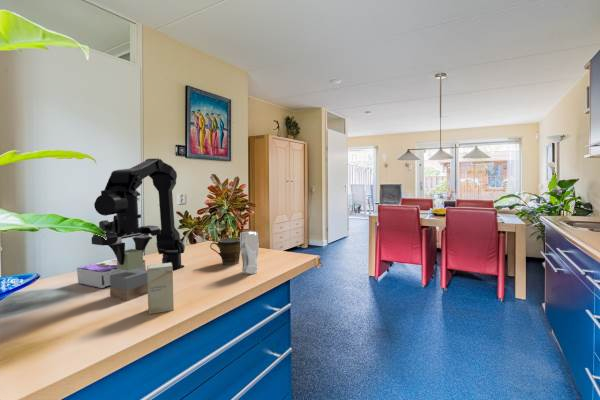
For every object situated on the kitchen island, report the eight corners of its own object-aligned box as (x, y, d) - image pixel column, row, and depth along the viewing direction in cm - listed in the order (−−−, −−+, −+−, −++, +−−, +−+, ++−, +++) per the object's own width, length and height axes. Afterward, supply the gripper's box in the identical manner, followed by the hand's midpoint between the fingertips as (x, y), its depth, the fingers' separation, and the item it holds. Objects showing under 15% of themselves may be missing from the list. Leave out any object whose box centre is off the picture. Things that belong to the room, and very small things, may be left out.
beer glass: (263, 270, 118) (262, 231, 117) (251, 275, 112) (249, 234, 111) (249, 268, 122) (248, 230, 121) (236, 273, 116) (235, 233, 115)
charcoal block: (135, 279, 101) (134, 268, 100) (151, 282, 97) (151, 271, 97) (110, 286, 94) (109, 275, 93) (126, 290, 90) (126, 278, 90)
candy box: (76, 267, 106) (121, 256, 121) (77, 284, 106) (122, 270, 121) (101, 271, 100) (146, 259, 115) (102, 289, 101) (146, 274, 115)
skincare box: (148, 315, 80) (146, 269, 80) (148, 308, 84) (146, 264, 83) (174, 310, 83) (172, 265, 82) (173, 304, 87) (171, 261, 86)
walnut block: (135, 289, 101) (134, 279, 100) (151, 293, 97) (151, 282, 97) (110, 298, 94) (109, 286, 93) (127, 302, 90) (126, 290, 90)
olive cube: (132, 264, 98) (131, 248, 98) (143, 266, 96) (142, 250, 96) (117, 268, 94) (116, 252, 93) (128, 270, 91) (127, 253, 91)
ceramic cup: (241, 259, 136) (240, 236, 135) (244, 265, 126) (243, 240, 126) (210, 262, 132) (209, 239, 131) (211, 268, 123) (210, 243, 122)
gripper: (137, 208, 106) (140, 253, 107) (78, 214, 89) (82, 267, 90) (160, 209, 101) (162, 256, 102) (102, 215, 84) (105, 272, 85)
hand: (130, 262), depth 95 cm, fingers closed on olive cube, 5 cm apart
